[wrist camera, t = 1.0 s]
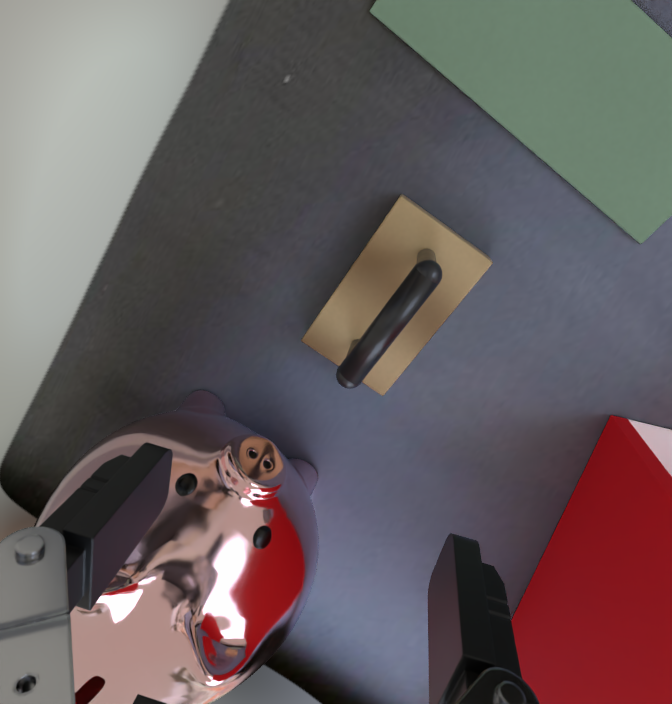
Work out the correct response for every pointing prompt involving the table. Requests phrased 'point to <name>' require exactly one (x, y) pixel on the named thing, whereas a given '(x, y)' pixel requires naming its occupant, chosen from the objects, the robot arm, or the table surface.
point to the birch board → (395, 297)
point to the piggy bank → (198, 563)
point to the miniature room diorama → (606, 580)
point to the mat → (563, 88)
